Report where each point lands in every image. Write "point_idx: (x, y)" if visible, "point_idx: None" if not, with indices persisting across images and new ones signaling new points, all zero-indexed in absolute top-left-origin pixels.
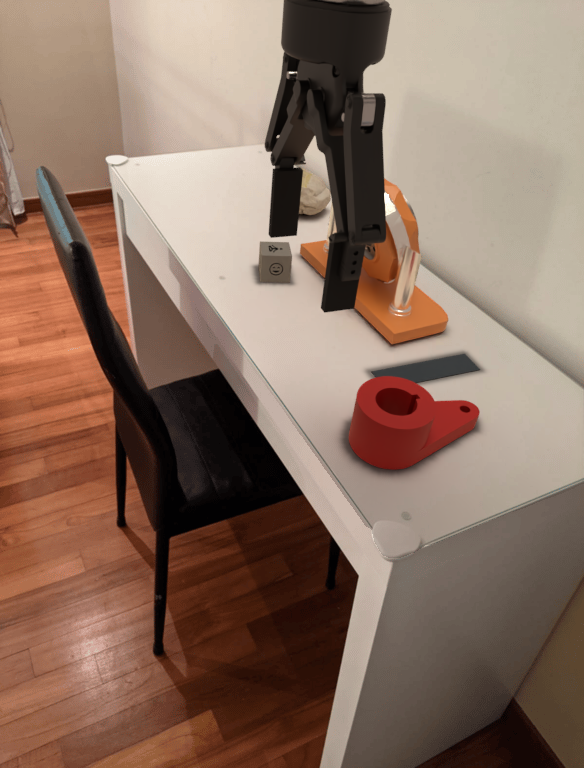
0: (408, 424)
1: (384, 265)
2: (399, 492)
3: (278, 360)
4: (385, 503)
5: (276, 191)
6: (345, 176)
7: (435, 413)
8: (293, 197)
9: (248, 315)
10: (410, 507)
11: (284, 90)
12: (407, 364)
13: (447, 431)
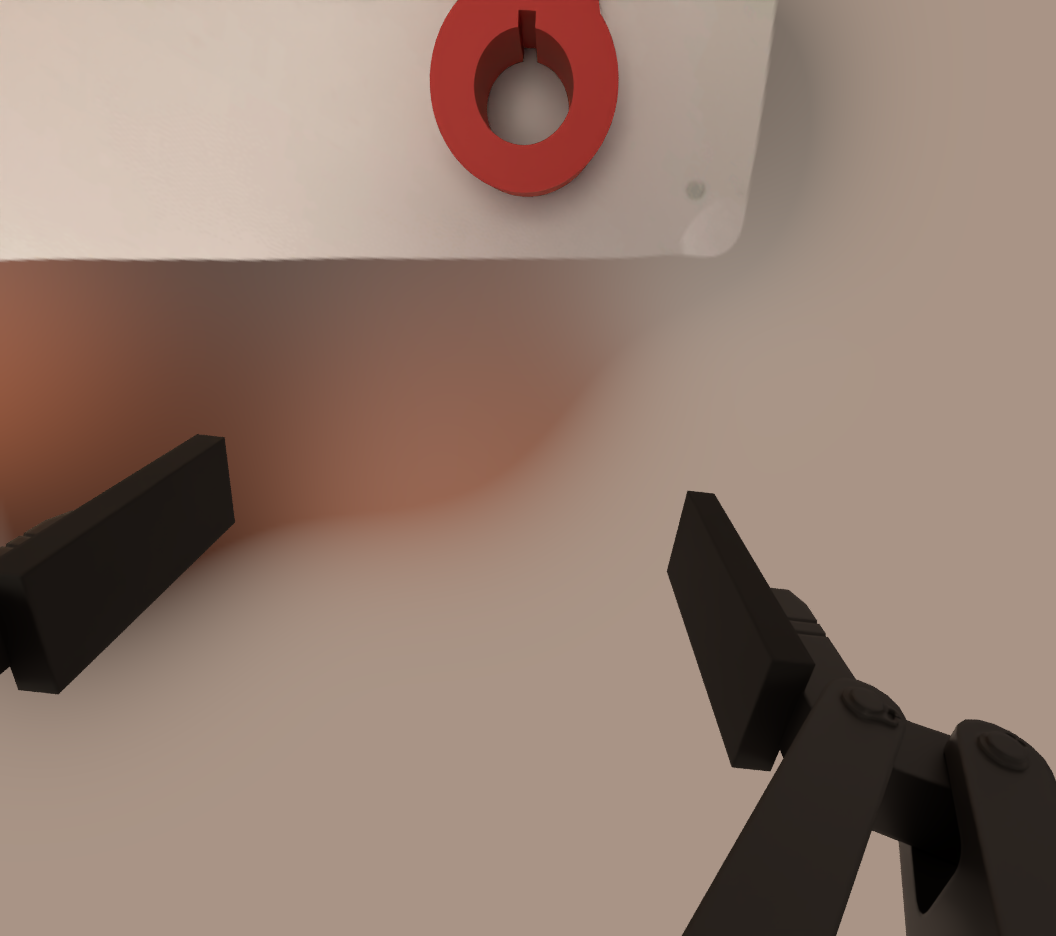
0: (600, 110)
1: None
2: (648, 168)
3: (229, 210)
4: (656, 210)
5: (124, 619)
6: None
7: (596, 8)
8: (131, 534)
9: (48, 201)
10: (685, 169)
11: None
12: None
13: None
